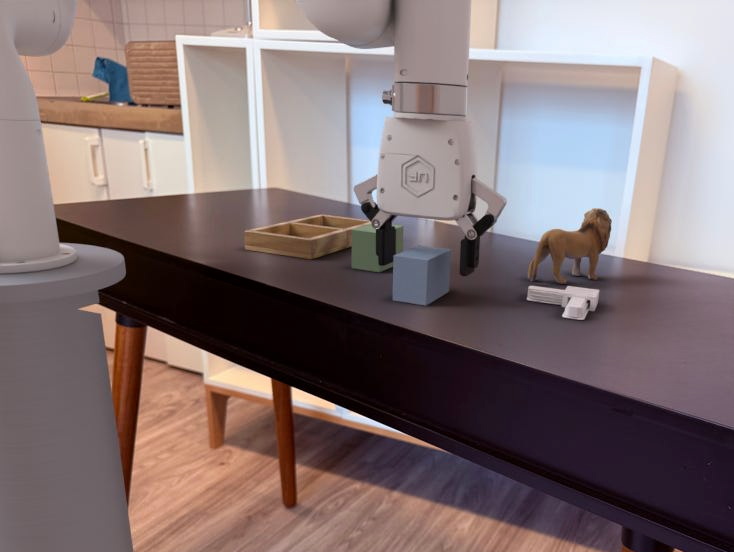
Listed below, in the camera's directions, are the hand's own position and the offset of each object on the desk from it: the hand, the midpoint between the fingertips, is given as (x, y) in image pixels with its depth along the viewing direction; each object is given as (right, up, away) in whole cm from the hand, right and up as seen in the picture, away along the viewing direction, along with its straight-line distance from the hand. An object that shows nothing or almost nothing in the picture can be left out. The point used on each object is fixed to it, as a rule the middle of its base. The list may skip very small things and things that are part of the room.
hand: (426, 268), depth 74 cm
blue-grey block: (-1, -3, +1) cm, 3 cm away
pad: (-8, +2, +14) cm, 16 cm away
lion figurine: (+18, +1, +15) cm, 23 cm away
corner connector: (+15, -4, +1) cm, 16 cm away
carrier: (-18, +7, +25) cm, 32 cm away
